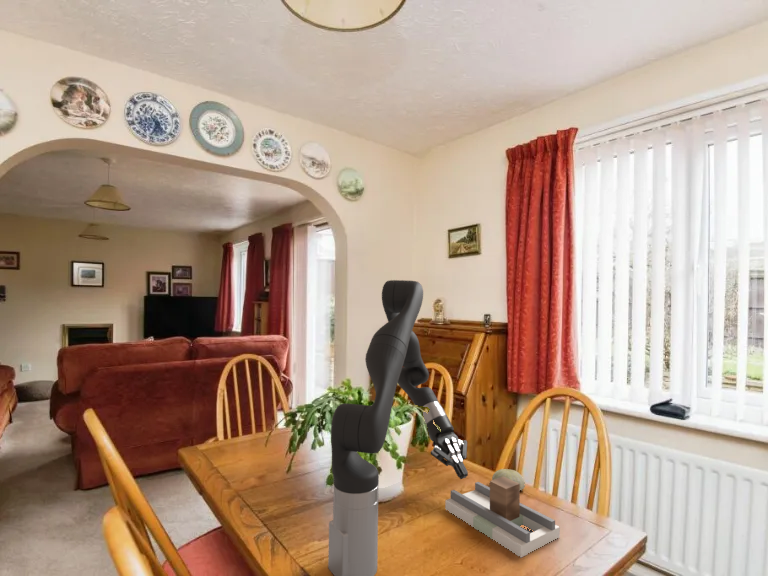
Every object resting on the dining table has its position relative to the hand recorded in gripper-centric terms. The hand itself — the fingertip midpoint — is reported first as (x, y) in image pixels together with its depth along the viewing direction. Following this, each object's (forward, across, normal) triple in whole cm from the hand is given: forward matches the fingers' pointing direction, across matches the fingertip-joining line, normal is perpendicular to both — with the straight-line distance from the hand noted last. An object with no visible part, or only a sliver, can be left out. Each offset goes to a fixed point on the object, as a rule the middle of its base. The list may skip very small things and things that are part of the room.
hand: (464, 477), depth 113 cm
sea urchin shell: (+5, +18, +5) cm, 19 cm away
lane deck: (+13, 0, -4) cm, 14 cm away
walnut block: (+13, 0, -7) cm, 14 cm away
